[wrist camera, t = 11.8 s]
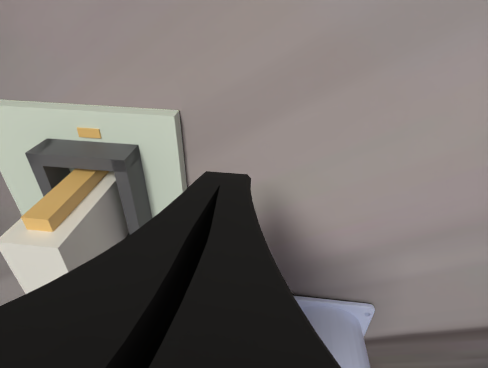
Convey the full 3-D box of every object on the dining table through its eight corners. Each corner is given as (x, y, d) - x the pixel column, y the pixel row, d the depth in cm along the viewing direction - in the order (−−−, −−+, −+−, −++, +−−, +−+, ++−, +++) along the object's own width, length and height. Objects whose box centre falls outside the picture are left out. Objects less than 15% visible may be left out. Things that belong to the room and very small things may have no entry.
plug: (135, 222, 23) (83, 305, 17) (93, 218, 23) (28, 299, 17) (120, 160, 20) (52, 235, 14) (73, 157, 20) (-13, 229, 14)
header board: (196, 283, 27) (186, 317, 24) (59, 268, 28) (34, 300, 25) (179, 110, 18) (160, 133, 16) (-20, 98, 19) (-72, 117, 17)
